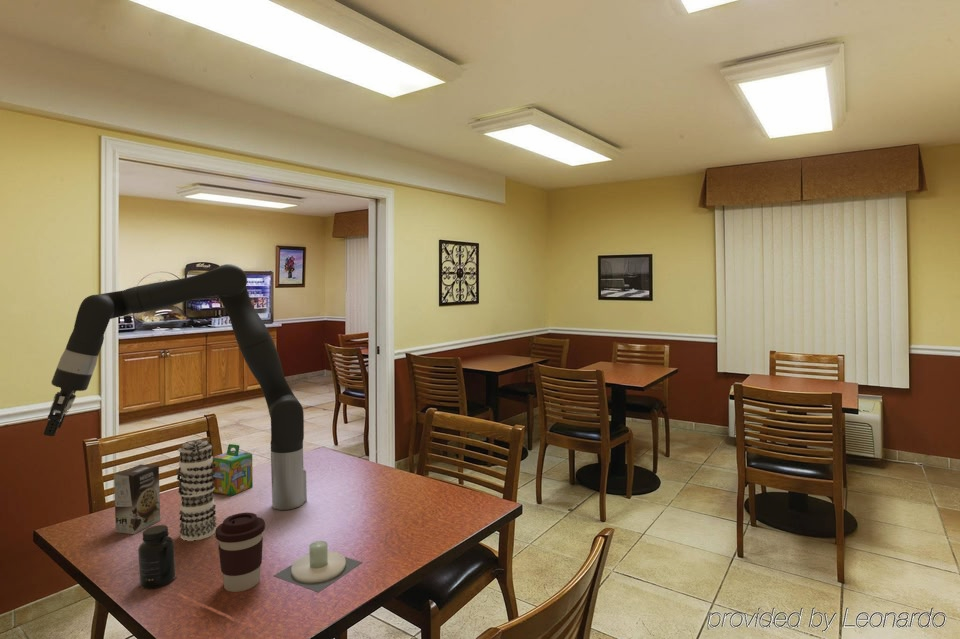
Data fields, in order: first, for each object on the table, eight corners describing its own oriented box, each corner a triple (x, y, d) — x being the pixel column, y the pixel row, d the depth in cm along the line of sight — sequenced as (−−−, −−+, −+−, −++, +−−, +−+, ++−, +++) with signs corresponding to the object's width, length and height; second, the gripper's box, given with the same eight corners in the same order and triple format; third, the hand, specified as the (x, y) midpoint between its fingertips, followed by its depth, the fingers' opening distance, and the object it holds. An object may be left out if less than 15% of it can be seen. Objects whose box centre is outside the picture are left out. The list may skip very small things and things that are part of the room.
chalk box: (210, 492, 170) (208, 447, 169) (233, 483, 178) (232, 440, 178) (231, 496, 166) (230, 450, 166) (254, 486, 175) (252, 443, 174)
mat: (319, 551, 131) (319, 548, 131) (362, 564, 124) (362, 562, 124) (273, 578, 119) (273, 575, 119) (318, 594, 112) (318, 592, 112)
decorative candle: (225, 527, 145) (222, 437, 143) (202, 542, 136) (198, 447, 134) (195, 524, 146) (192, 436, 145) (170, 540, 137) (167, 446, 136)
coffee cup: (276, 577, 119) (274, 512, 118) (243, 601, 110) (241, 531, 109) (241, 569, 122) (239, 506, 122) (206, 592, 113) (204, 524, 112)
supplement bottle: (150, 574, 121) (148, 523, 120) (181, 572, 121) (179, 521, 121) (133, 591, 114) (130, 537, 113) (165, 589, 114) (163, 535, 114)
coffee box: (134, 534, 140) (132, 475, 139) (114, 532, 142) (112, 474, 141) (161, 520, 149) (159, 464, 148) (142, 518, 151) (140, 463, 150)
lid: (319, 551, 129) (318, 529, 129) (356, 563, 124) (356, 539, 124) (279, 574, 119) (279, 550, 119) (318, 588, 113) (318, 563, 113)
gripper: (89, 377, 129) (65, 441, 128) (96, 369, 142) (74, 427, 140) (52, 369, 126) (26, 435, 124) (62, 362, 138) (39, 422, 136)
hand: (52, 431), depth 132 cm, fingers open, 8 cm apart
